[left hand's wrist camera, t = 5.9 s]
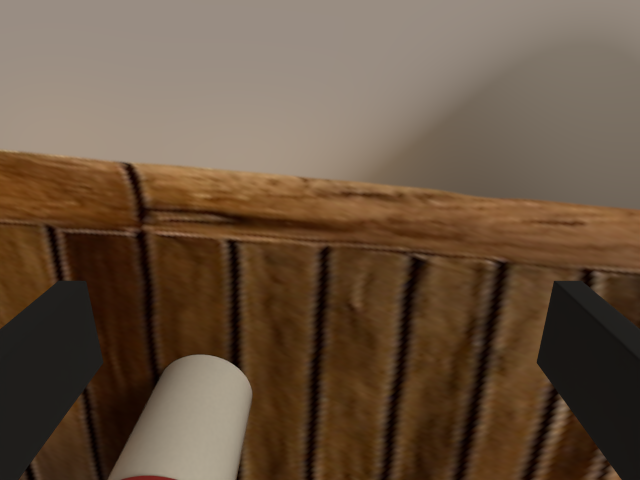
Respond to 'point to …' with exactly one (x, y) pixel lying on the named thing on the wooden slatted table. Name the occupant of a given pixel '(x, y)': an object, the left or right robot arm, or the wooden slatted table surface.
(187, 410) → the jar
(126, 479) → the lid
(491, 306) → the wooden slatted table surface
